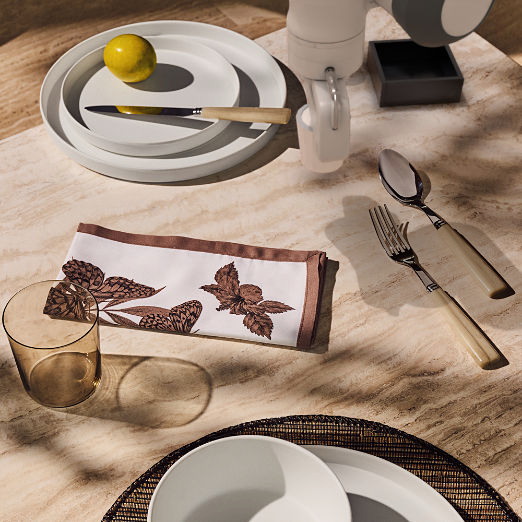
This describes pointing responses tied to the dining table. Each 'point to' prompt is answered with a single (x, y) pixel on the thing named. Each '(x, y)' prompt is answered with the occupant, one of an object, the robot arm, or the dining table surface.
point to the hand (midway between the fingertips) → (322, 143)
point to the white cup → (311, 145)
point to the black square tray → (413, 73)
